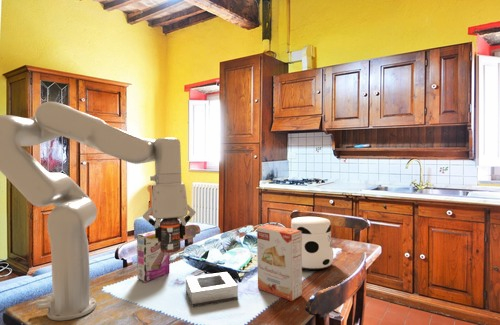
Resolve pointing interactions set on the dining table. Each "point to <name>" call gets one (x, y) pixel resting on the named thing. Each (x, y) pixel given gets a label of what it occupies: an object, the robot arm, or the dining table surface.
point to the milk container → (314, 242)
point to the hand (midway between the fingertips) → (170, 238)
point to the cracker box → (280, 261)
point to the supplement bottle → (170, 235)
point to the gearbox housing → (211, 289)
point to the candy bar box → (150, 258)
